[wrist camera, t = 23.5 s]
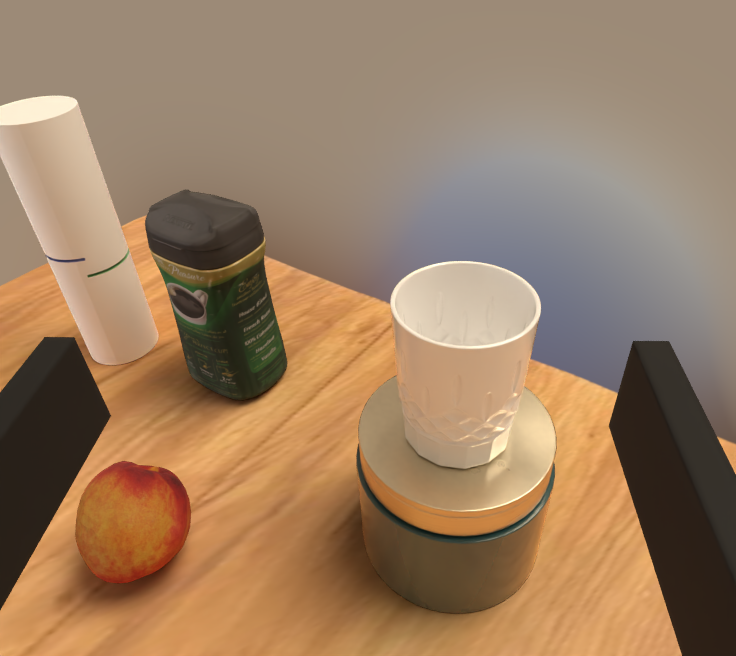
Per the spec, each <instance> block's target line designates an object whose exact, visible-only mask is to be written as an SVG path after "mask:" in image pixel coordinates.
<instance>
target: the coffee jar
mask: <svg viewBox="0 0 736 656" xmlns="http://www.w3.org/2000/svg"><path fill="white" fill-rule="evenodd" d="M145 226H146V233H147V238H148V243H149V248H150V251H151V253H152V256H153V258H154V260H155V262H156V264H157V266H158V268H159V270H160V272H161V274H162V276H163V279H164V281H165V284H166V287H167V290H168V293H169V297H170V300H171V304H172V308H173V312H174V315H175V319H176V322H177V326H178V330H179V334H180V338H181V342H182V347H183V351H184V355H185V359H186V362H187V366H188V369H189V372H190V374H191V376H192V377H193V378H194V379H195V380H196V381H198V382H199V383H200V384H202V385H203V386H205V387H206V388H208V389H210V390H212V391H214V392H216V393H218V394H221V395H223V396H225V397H228V398H231V399H235V400H245V399H249V398H252V397H255V396H257V395H259V394H261V393H263V392H265V391H266V390H268V389H269V388H270V387H272V386H273V385H274V384H275V383H276V382H277V381H278V380H279V379H280V377H281V376H282V375H283V373H284V372H285V370H286V367H287V358H286V353H285V349H284V345H283V340H282V336H281V333H280V330H279V326H278V323H277V319H276V315H275V311H274V308H273V304H272V299H271V295H270V291H269V286H268V282H267V278H266V273H265V266H264V253H265V246H266V245H265V237H264V233H263V230H262V226H261V223H260V220H259V216H258V213H257V211H256V210H255V209H254V208H253V207H251V206H249V205H246V204H243V203H240V202H237V201H233V200H230V199H226V198H222V197H219V196H215V195H211V194H204V193H198V192H191V191H189V190H183V191H180V192H178V193H176V194H174V195H171V196H170V197H167V198H165V199H163V200H161V201H159V202H158V203H156V204H154V205H152V206H151V207H150V209H149V213H148V214H147V217H146V220H145Z"/></svg>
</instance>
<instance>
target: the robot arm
mask: <svg viewBox="0 0 736 656" xmlns="http://www.w3.org/2000/svg"><path fill="white" fill-rule="evenodd" d="M110 417H111V415H110V413H109V411H108V408H107V406H106V404H105V402H104V400H103V398H102V396H101V393H100V391H99V389H98V387H97V385H96V383H95V381H94V379H93V376H92V374H91V372H90V370H89V368H88V366H87V364H86V361H85V359H84V357H83V355H82V353H81V351H80V349H79V347H78V344H77V342H76V340H75V338H74V337H44V339H43V340H42V341H41V342H40V344H39V345H38V346H37V347H36V349H35V350H34V351H33V352H32V354H31V355H30V356H29V357H28V359H27V360H26V361H25V362H24V364H23V365H22V366H21V367H20V369H19V370H18V371H17V372H16V374H15V375H14V376H13V377H12V379H11V380H10V381H9V382H8V384H7V385H6V386H5V387H4V389H3V390H2V391H1V392H0V610H1V608H2V606H3V605H4V603H5V601H6V599H7V598H8V596H9V594H10V592H11V591H12V589H13V587H14V585H15V583H16V582H17V580H18V578H19V576H20V575H21V573H22V571H23V569H24V568H25V566H26V564H27V562H28V561H29V559H30V557H31V555H32V554H33V552H34V550H35V548H36V547H37V545H38V543H39V541H40V540H41V538H42V536H43V534H44V533H45V531H46V529H47V527H48V525H49V524H50V522H51V520H52V518H53V517H54V515H55V513H56V511H57V510H58V508H59V506H60V504H61V503H62V501H63V499H64V497H65V496H66V494H67V492H68V490H69V489H70V487H71V485H72V483H73V482H74V480H75V478H76V476H77V475H78V473H79V471H80V469H81V467H82V466H83V464H84V462H85V460H86V459H87V457H88V455H89V453H90V452H91V450H92V448H93V446H94V445H95V443H96V441H97V439H98V438H99V436H100V434H101V432H102V431H103V429H104V427H105V425H106V424H107V422H108V420H109V418H110ZM609 428H610V431H611V434H612V437H613V440H614V443H615V446H616V449H617V453H618V456H619V459H620V462H621V465H622V468H623V471H624V475H625V478H626V481H627V484H628V487H629V490H630V493H631V496H632V500H633V503H634V506H635V509H636V512H637V515H638V518H639V522H640V525H641V528H642V531H643V534H644V537H645V540H646V543H647V547H648V550H649V553H650V556H651V559H652V562H653V565H654V569H655V572H656V575H657V578H658V581H659V584H660V587H661V590H662V594H663V597H664V600H665V603H666V606H667V609H668V612H669V616H670V619H671V622H672V625H673V628H674V631H675V634H676V637H677V641H678V644H679V647H680V650H681V653H682V656H736V474H735V472H734V470H733V468H732V466H731V464H730V462H729V460H728V458H727V456H726V454H725V452H724V450H723V448H722V446H721V444H720V442H719V440H718V438H717V436H716V434H715V432H714V430H713V428H712V426H711V424H710V422H709V420H708V418H707V416H706V414H705V412H704V410H703V408H702V406H701V404H700V402H699V400H698V398H697V396H696V394H695V393H694V390H693V389H692V387H691V384H690V382H689V380H688V378H687V376H686V374H685V372H684V370H683V368H682V367H681V364H680V362H679V360H678V358H677V356H676V354H675V352H674V350H673V348H672V346H671V344H670V342H669V341H633V344H632V348H631V351H630V354H629V357H628V361H627V364H626V368H625V371H624V375H623V378H622V382H621V385H620V389H619V392H618V396H617V399H616V403H615V406H614V410H613V413H612V417H611V420H610V424H609Z"/></svg>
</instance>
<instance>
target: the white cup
mask: <svg viewBox="0 0 736 656" xmlns="http://www.w3.org/2000/svg"><path fill="white" fill-rule="evenodd" d="M390 306H391V317H392V327H393V339H394V351H395V361H396V373H397V384H398V389H399V400H400V402H401V405H402V410H403V421H404V430H405V438H406V439H407V440H408V442H409V443H410V444H411V446H412V447H413V448H414V450H415V451H416V452H417V453H418V455H420V456H422V457H424V458H426V459H428V460H430V461H431V462H433V463H435V464H437V465H439V466H445V467H454V468H462V469H466V468H470V467H474V466H478V465H482V464H486V463H489V462H490V461H491V460H493V459H494V458H495V457H496V456H497V455H499V454H500V453H501V452H502V451H503V450H505V448H506V445H507V442H508V439H509V436H510V433H511V429H512V425H513V420H514V416H515V414H516V413H517V411H518V407H519V403H520V398H521V396H522V393H523V388H524V384H525V380H526V375H527V371H528V366H529V362H530V357H531V353H532V348H533V344H534V339H535V335H536V330H537V326H538V322H539V318H540V313H541V303H540V299H539V297H538V295H537V293H536V291H535V290H534V289H533V287H532V286H531V285H530V284H529V283H528V282H527V281H525V280H524V279H523V278H521V277H520V276H518V275H516V274H514V273H513V272H511V271H508V270H506V269H503V268H501V267H498V266H494V265H490V264H486V263H480V262H471V261H451V262H443V263H437V264H433V265H429V266H426V267H423V268H420V269H418V270H416V271H414V272H412V273H410V274H409V275H407V276H406V277H405V278H403V279H402V280H401V281H400V282H399V283H398V284H397V286H396V287H395V289H394V290H393V293H392V295H391V301H390Z"/></svg>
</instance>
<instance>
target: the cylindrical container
mask: <svg viewBox="0 0 736 656" xmlns="http://www.w3.org/2000/svg"><path fill="white" fill-rule="evenodd" d="M0 157H1V159H2V161H3V163H4V165H5V167H6V169H7V172H8V174H9V176H10V179H11V181H12V183H13V185H14V188H15V190H16V192H17V194H18V196H19V199H20V201H21V203H22V205H23V207H24V210H25V212H26V214H27V216H28V218H29V220H30V222H31V225H32V227H33V229H34V231H35V233H36V236H37V238H38V240H39V242H40V244H41V247H42V249H43V251H44V253H45V255H46V258H47V260H48V262H49V264H50V267H51V269H52V271H53V273H54V275H55V278H56V280H57V282H58V284H59V286H60V289H61V291H62V293H63V295H64V298H65V300H66V302H67V304H68V306H69V309H70V311H71V313H72V315H73V317H74V320H75V322H76V324H77V326H78V328H79V330H80V333H81V335H82V337H83V339H84V341H85V344H86V346H87V348H88V350H89V352H90V355H91V357H92V358H93V359H94V360H95V361H96V362H98V363H100V364H105V365H120V364H125V363H129V362H132V361H134V360H137V359H139V358H141V357H142V356H144V355H146V354H147V353H148V352H150V351H151V350H152V349H153V348H154V346H155V345H156V343H157V341H158V336H159V335H158V331H157V328H156V326H155V323H154V320H153V317H152V314H151V311H150V308H149V305H148V303H147V300H146V297H145V294H144V291H143V288H142V285H141V283H140V280H139V277H138V274H137V271H136V268H135V265H134V262H133V260H132V257H131V254H130V251H129V248H128V245H127V242H126V240H125V237H124V234H123V231H122V228H121V225H120V222H119V220H118V217H117V214H116V211H115V208H114V205H113V202H112V200H111V197H110V194H109V191H108V189H107V186H106V182H105V180H104V177H103V174H102V171H101V168H100V165H99V162H98V160H97V157H96V154H95V151H94V148H93V146H92V143H91V140H90V137H89V134H88V131H87V128H86V125H85V123H84V120H83V117H82V114H81V111H80V108H79V105H78V102H77V100H76V99H74V98H71V97H67V96H44V97H35V98H29V99H24V100H19V101H15V102H11V103H9V104H5V105H2V106H0Z"/></svg>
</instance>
